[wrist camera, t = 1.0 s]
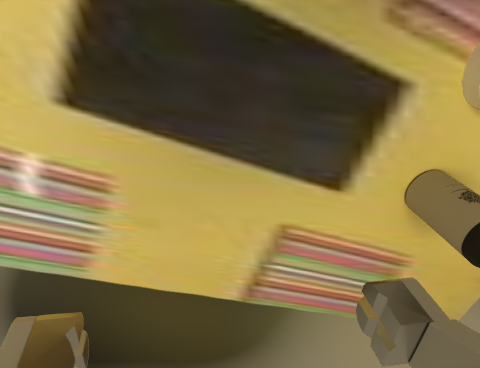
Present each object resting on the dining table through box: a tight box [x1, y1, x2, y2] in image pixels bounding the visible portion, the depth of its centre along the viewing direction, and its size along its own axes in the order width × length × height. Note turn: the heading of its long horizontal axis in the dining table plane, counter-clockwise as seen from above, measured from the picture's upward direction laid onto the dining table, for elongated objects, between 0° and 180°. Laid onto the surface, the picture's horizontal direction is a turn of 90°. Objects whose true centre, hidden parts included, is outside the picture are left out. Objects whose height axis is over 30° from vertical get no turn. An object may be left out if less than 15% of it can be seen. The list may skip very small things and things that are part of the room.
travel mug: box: [406, 170, 480, 268], centre depth 51 cm, size 8×8×18 cm
